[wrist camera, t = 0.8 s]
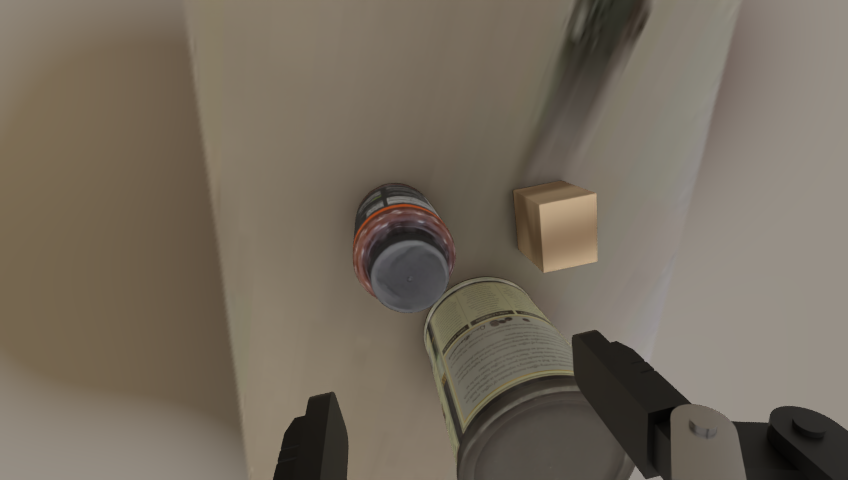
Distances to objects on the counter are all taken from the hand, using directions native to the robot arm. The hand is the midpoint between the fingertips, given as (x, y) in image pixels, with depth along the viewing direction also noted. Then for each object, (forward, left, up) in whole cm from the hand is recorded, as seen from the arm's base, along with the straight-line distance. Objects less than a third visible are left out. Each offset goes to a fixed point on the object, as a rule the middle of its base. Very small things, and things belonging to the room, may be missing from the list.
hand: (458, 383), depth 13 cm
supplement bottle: (-1, -1, -19) cm, 19 cm away
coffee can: (+11, +5, -19) cm, 22 cm away
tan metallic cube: (+1, +11, -19) cm, 21 cm away
